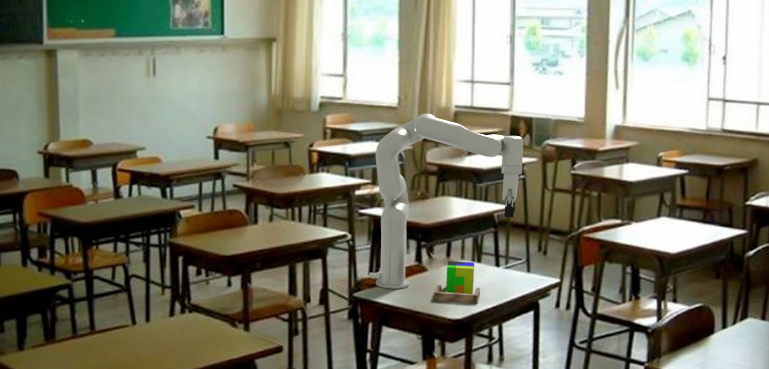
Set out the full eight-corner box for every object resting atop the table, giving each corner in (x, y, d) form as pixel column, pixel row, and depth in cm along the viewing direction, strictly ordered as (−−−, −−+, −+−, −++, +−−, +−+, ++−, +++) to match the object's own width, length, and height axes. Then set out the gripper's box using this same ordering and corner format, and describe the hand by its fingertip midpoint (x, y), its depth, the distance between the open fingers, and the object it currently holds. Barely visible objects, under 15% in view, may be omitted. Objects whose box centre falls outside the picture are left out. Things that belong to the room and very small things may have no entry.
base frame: (433, 300, 389) (433, 292, 389) (437, 292, 400) (437, 285, 400) (477, 303, 387) (477, 295, 386) (479, 295, 398) (480, 287, 397)
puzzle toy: (473, 287, 409) (474, 262, 408) (472, 294, 399) (473, 268, 398) (447, 286, 410) (448, 261, 409) (446, 293, 400) (447, 267, 399)
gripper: (503, 165, 405) (501, 209, 408) (500, 172, 388) (498, 218, 391) (522, 166, 404) (520, 211, 407) (520, 173, 387) (518, 219, 390)
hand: (509, 214), depth 399 cm, fingers open, 9 cm apart
